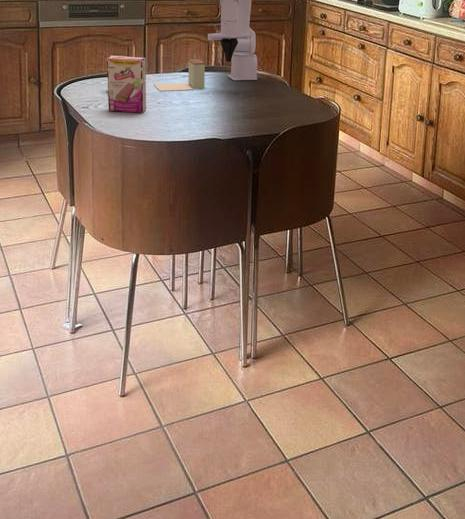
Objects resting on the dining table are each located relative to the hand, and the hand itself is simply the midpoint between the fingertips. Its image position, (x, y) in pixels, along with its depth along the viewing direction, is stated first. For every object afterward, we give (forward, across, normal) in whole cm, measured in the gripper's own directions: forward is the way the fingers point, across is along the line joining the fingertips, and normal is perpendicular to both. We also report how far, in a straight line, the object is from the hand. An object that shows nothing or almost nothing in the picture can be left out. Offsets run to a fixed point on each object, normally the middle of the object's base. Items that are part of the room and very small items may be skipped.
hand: (228, 61), depth 252 cm
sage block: (+10, -9, +8) cm, 16 cm away
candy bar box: (+10, -39, -20) cm, 45 cm away
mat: (+10, -18, +8) cm, 22 cm away
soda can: (+10, -37, +6) cm, 39 cm away
